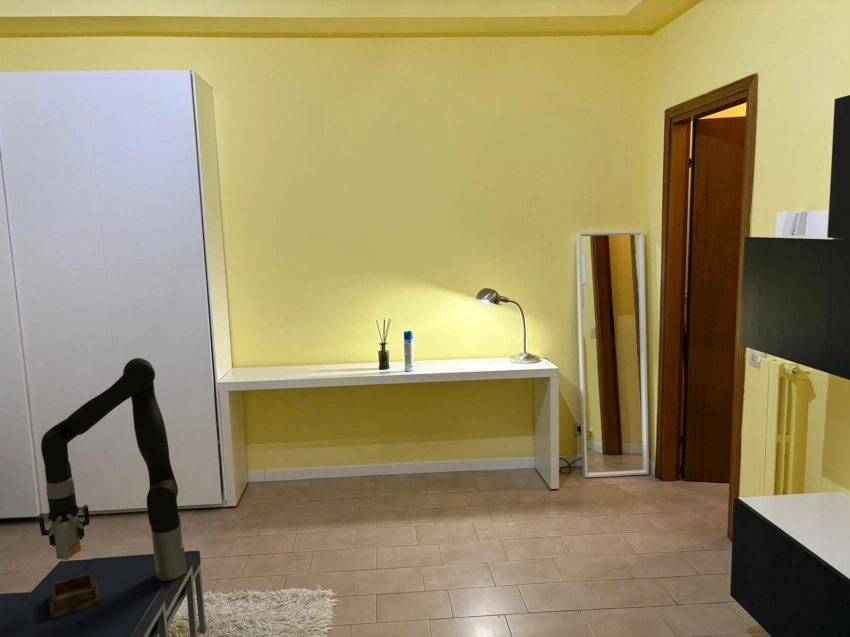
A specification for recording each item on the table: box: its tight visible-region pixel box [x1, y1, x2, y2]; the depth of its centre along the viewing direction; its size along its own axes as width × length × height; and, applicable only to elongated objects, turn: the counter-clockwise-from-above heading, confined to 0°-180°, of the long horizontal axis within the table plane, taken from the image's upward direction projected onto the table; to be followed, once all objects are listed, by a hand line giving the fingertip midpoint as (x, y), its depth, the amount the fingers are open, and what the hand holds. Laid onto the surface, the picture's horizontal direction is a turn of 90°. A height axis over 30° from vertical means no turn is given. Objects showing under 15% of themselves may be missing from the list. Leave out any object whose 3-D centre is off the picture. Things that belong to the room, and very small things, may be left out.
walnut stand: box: [48, 572, 102, 619], centre depth 206 cm, size 14×14×5 cm
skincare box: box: [53, 515, 82, 561], centre depth 203 cm, size 6×4×12 cm
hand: (67, 541), depth 204 cm, fingers closed on skincare box, 7 cm apart
